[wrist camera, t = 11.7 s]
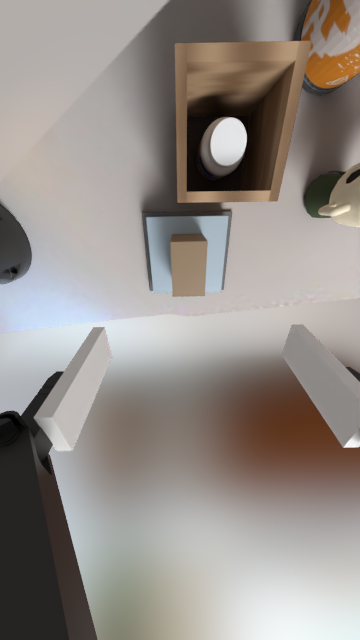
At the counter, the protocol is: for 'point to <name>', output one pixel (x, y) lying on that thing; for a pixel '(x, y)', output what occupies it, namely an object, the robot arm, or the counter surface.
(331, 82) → the canister
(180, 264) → the lid
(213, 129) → the pill bottle
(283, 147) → the box
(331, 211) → the character mug
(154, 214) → the mat
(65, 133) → the counter surface
